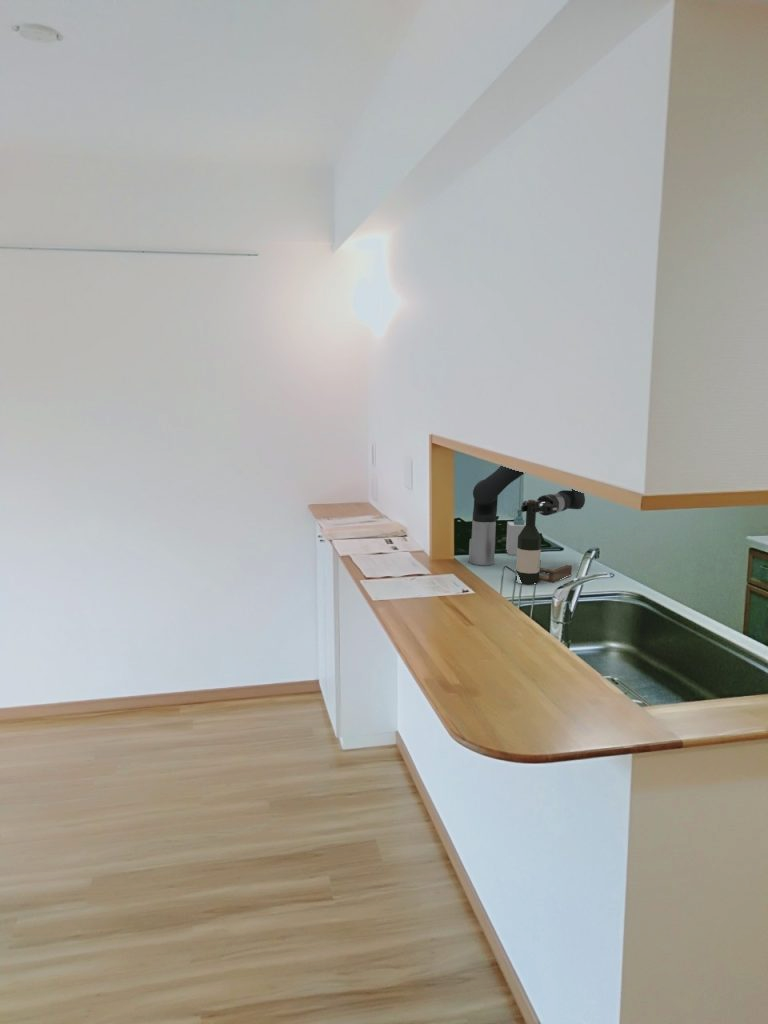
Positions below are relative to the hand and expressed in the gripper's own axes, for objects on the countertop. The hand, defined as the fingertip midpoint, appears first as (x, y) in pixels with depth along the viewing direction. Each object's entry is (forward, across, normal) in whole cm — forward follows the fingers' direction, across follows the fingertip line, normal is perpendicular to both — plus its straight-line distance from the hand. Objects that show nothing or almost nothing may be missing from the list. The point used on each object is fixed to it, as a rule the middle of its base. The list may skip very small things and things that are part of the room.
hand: (527, 509), depth 280 cm
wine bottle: (-3, 0, +27) cm, 27 cm away
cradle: (-17, 0, +27) cm, 32 cm away
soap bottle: (-42, -27, +27) cm, 57 cm away
